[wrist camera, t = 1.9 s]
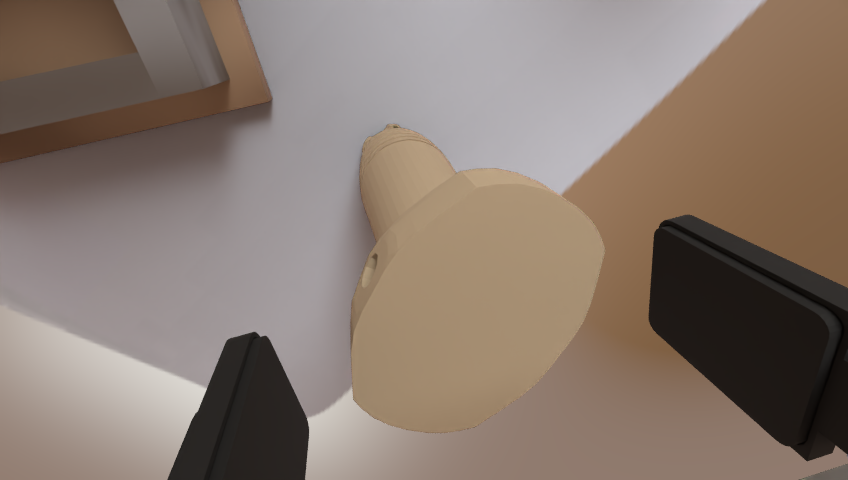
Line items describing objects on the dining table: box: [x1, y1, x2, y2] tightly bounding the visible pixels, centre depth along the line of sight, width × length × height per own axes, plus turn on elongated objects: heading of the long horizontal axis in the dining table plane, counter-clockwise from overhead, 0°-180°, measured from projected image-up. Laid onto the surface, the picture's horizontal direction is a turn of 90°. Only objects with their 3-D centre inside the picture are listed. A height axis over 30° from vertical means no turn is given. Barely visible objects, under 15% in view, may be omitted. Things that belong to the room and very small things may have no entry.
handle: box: [350, 124, 605, 433], centre depth 15 cm, size 5×6×15 cm
